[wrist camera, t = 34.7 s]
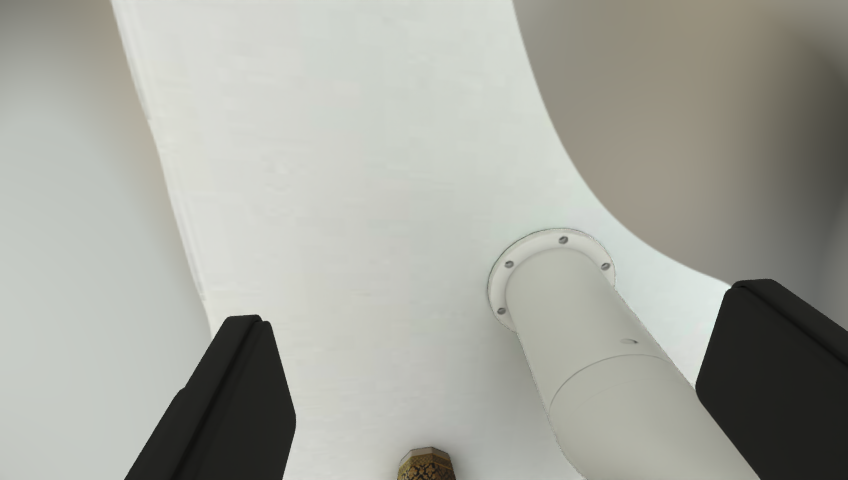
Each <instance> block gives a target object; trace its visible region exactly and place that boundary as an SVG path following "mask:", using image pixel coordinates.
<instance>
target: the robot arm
mask: <svg viewBox="0 0 848 480" xmlns="http://www.w3.org/2000/svg"><path fill="white" fill-rule="evenodd" d="M507 261H508V262H507ZM614 286H615V269H614V264H613V262H612V259H611V257H610V255H609V254H608V253H607V251H606V250H605V249H604V247H603V246H602V245H601V244H600V243H599V242H598V241H597V240H595V239H594V238H592V237H591V236H589V235H587V234H585V233H582V232H579V231H576V230H570V229H549V230H544V231H539V232H536V233H534V234H531V235H528V236H526V237H524V238H523V239H521V240H519V241H517V242H516V243H515V244H513V245H512V246H511V247H509V248H508V249H507V250H506V251H505V252H504V253H503V254H502V256H501V257H500V258H499V259H498V261H497V262H496V264H495V266H494V267H493V269H492V272H491V275H490V278H489V283H488V296H489V301H490V304H491V308H492V310H493V312H494V314H495V316H496V317H497V319H498V320H499V321H500V322H501V323H502V324H503V325H504V326H505V327H507V328H508V329H509V330H511V331H513V332H515V333H517V334H518V337H519V340H520V342H521V345H522V348H523V351H524V353H525V356H526V359H527V362H528V364H529V367H530V370H531V373H532V375H533V378H534V381H535V384H536V386H537V389H538V392H539V395H540V398H541V400H542V403H543V406H544V409H545V411H546V414H547V417H548V419H549V422H550V425H551V427H552V430H553V433H554V435H555V438H556V441H557V443H558V445H559V447H560V449H561V451H562V453H563V454H564V456H565V457H566V459H567V460H568V461H569V463H570V464H571V465H572V466H573V467H574V468H575V469H576V471H577V472H578V473H580V474H581V475H582V476H583V477H584V478H586V479H587V480H848V331H846V330H845V329H844V328H842V327H841V326H839V325H838V324H836V323H835V322H833V321H832V320H831V319H829V318H828V317H826V316H825V315H823V314H822V313H821V312H819V311H818V310H816V309H815V308H814V307H812V306H811V305H809V304H808V303H806V302H805V301H803V300H802V299H800V298H799V297H798V296H796V295H795V294H793V293H792V292H791V291H789V290H788V289H786V288H785V287H783V286H782V285H781V284H779V283H778V282H776V281H774V280H772V279H757V280H742V281H738V282H736V283H735V284H733V286H732V287H731V289H728V290H727V291H726V293H725V295H724V297H723V300H722V304H721V307H720V310H719V313H718V316H717V319H716V322H715V325H714V328H713V331H712V334H711V338H710V341H709V344H708V347H707V350H706V353H705V356H704V359H703V362H702V365H701V368H700V372H699V375H698V378H697V381H696V385H695V389H696V391H695V390H694V388H693V387H692V386H691V384H690V383H689V382H688V381H687V379H686V378H685V377H684V376H683V374H682V373H681V372H680V371H679V370H678V368H677V367H676V366H675V364H674V363H673V362H672V361H671V359H670V358H669V357H668V356H667V354H666V353H665V352H664V350H663V349H662V348H661V347H660V345H659V344H658V343H657V342H656V340H655V339H654V338H653V337H652V335H651V334H650V333H649V331H648V330H647V329H646V328H645V326H644V325H643V324H642V323H641V321H640V320H639V319H638V317H637V316H636V315H635V314H634V312H633V311H632V310H631V309H630V307H629V306H628V305H627V304H626V302H625V301H624V300H623V298H622V297H621V296H620V295H619V293H618V292H617V291H616V290H615V288H614ZM295 428H296V414H295V410H294V406H293V403H292V399H291V396H290V392H289V388H288V385H287V381H286V377H285V374H284V370H283V366H282V363H281V359H280V356H279V352H278V348H277V345H276V341H275V337H274V334H273V330H272V327H271V324H270V323H269V322H268V321H262V319H261V317H260V316H259V315H243V316H230V317H227V318H226V319H225V321H224V322H223V324H222V326H221V327H220V329H219V331H218V332H217V334H216V336H215V337H214V339H213V341H212V342H211V344H210V346H209V347H208V349H207V351H206V352H205V354H204V356H203V357H202V359H201V361H200V362H199V364H198V366H197V367H196V369H195V371H194V372H193V374H192V376H191V377H190V379H189V381H188V383H187V384H186V386H185V387H184V388H183V389H181V390H180V391H179V392H178V393H177V395H176V396H175V397H174V399H173V400H172V402H171V404H170V405H169V407H168V408H167V410H166V412H165V413H164V415H163V417H162V418H161V420H160V422H159V423H158V425H157V426H156V428H155V430H154V431H153V433H152V435H151V436H150V438H149V440H148V441H147V443H146V445H145V446H144V448H143V450H142V451H141V453H140V454H139V456H138V458H137V459H136V461H135V463H134V464H133V466H132V468H131V469H130V471H129V472H128V474H127V476H126V477H125V479H124V480H282V479H283V475H284V471H285V467H286V463H287V460H288V456H289V452H290V448H291V445H292V441H293V437H294V433H295Z"/></svg>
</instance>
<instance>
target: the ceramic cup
mask: <svg viewBox="0 0 848 480" xmlns="http://www.w3.org/2000/svg"><path fill="white" fill-rule="evenodd" d="M397 480H456V478H455V474H454V471H453V467H452V463H451V460H450V457H449V455H448V454H447V453H445V452H442V451H440V450H437V449H435V448H432V447H428V448H422V449H416V450H411V451H410V452H409V453H408V454H407V455H406V456H405V457H404V458H403V459H402V460H401V463H400V467H399V472H398V478H397Z"/></svg>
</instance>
